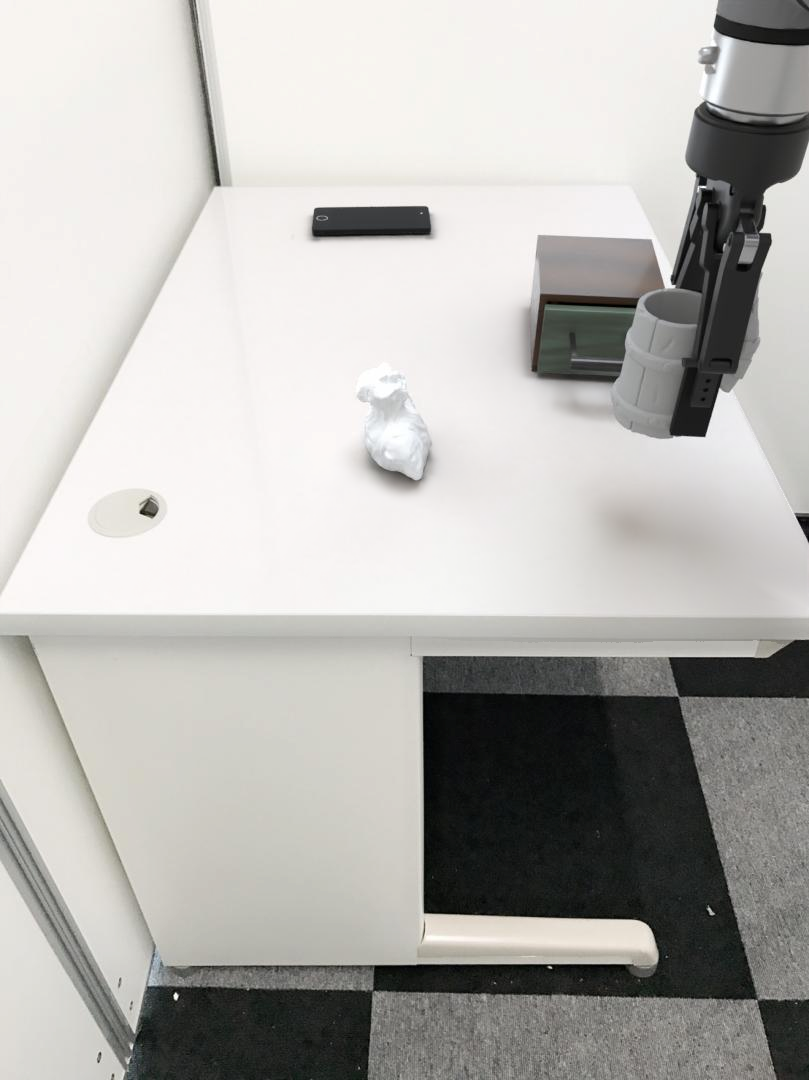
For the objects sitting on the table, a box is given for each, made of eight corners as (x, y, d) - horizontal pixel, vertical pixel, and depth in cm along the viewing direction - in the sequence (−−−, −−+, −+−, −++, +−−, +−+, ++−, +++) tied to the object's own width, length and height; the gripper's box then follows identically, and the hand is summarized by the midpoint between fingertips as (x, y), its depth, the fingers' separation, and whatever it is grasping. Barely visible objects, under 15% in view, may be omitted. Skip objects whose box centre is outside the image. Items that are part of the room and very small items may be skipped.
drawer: (655, 411, 92) (671, 346, 86) (538, 404, 93) (546, 340, 87) (635, 316, 107) (647, 256, 102) (535, 312, 108) (542, 252, 103)
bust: (389, 440, 93) (321, 373, 87) (445, 401, 91) (379, 329, 84) (400, 511, 84) (325, 442, 78) (462, 470, 82) (389, 395, 75)
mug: (592, 397, 73) (615, 265, 65) (713, 376, 76) (750, 245, 67) (634, 448, 68) (665, 311, 60) (763, 424, 70) (810, 288, 62)
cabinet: (650, 377, 99) (668, 299, 92) (531, 371, 100) (540, 293, 93) (636, 312, 110) (651, 239, 104) (529, 308, 111) (537, 234, 105)
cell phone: (314, 213, 134) (314, 207, 134) (428, 211, 135) (428, 205, 134) (311, 236, 128) (311, 229, 127) (431, 234, 128) (431, 228, 128)
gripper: (674, 64, 63) (621, 340, 78) (726, 158, 48) (648, 478, 63) (778, 66, 62) (705, 344, 78) (864, 163, 47) (751, 484, 63)
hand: (679, 404), depth 70 cm, fingers closed on mug, 8 cm apart
